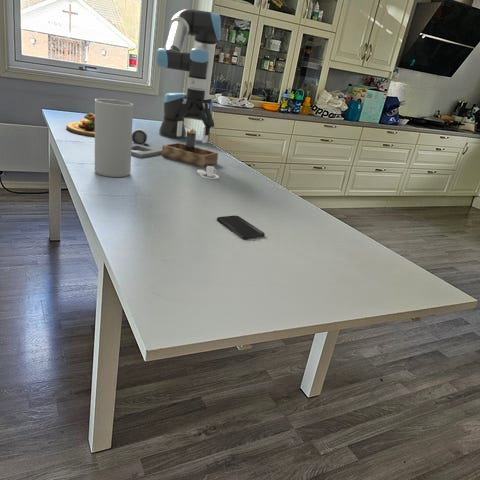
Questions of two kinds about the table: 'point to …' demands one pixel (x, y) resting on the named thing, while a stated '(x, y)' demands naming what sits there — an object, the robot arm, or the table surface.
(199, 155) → the walnut trough
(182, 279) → the table surface
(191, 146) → the battery cell
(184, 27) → the robot arm
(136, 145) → the grey flat square frame
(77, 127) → the wooden plate with food
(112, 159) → the cylinder vase
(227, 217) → the phone
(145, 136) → the ceramic mug
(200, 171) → the teacup and saucer
